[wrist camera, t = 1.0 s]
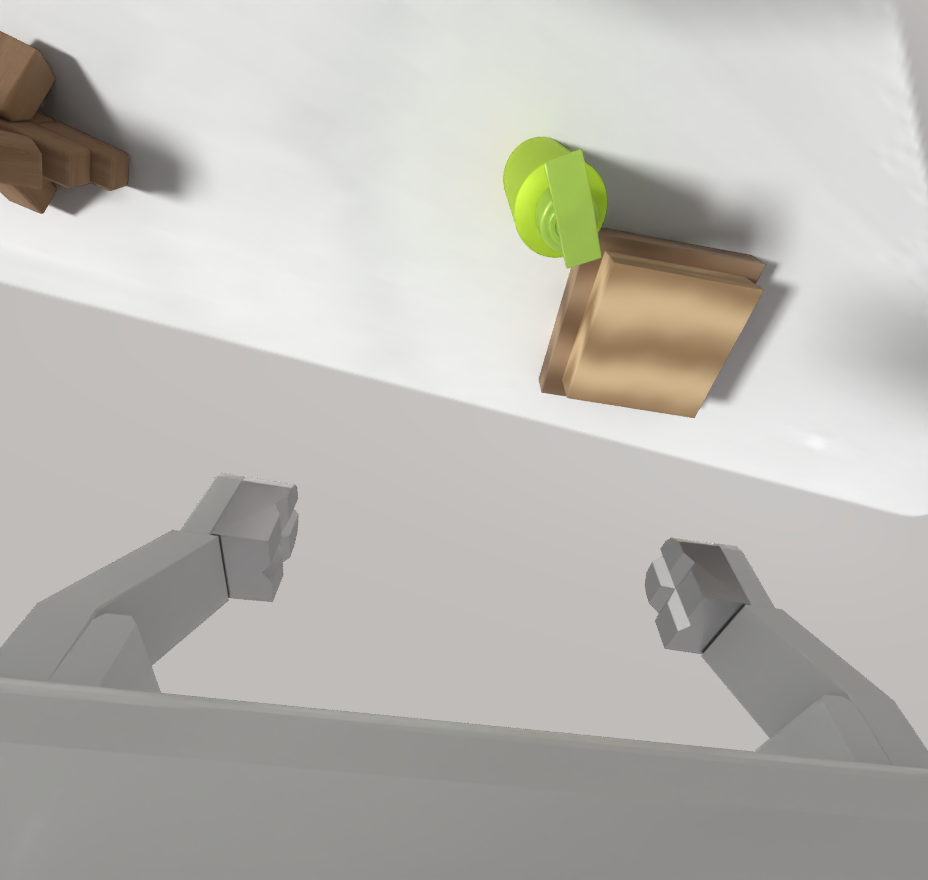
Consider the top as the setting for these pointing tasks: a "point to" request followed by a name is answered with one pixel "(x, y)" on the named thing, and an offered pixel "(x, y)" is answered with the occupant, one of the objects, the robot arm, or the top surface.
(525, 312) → the top surface
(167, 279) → the top surface
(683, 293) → the oak top slab
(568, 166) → the soap dispenser
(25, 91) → the wooden blocks
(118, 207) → the top surface
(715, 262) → the walnut base slab
